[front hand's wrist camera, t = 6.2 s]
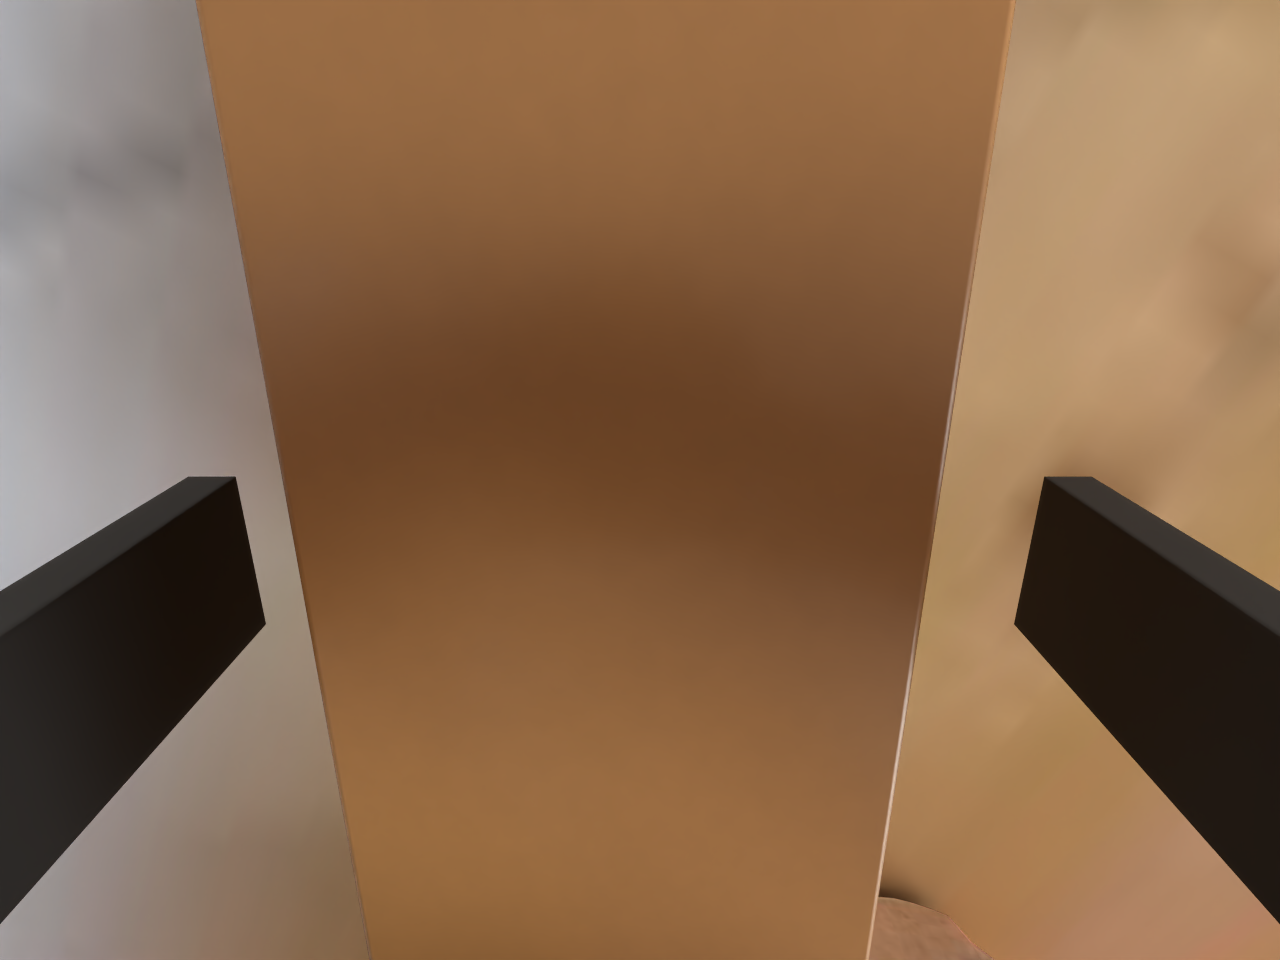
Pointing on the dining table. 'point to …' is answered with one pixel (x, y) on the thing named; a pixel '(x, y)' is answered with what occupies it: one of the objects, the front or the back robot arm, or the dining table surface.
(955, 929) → the stone
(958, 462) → the dining table surface
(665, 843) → the box
